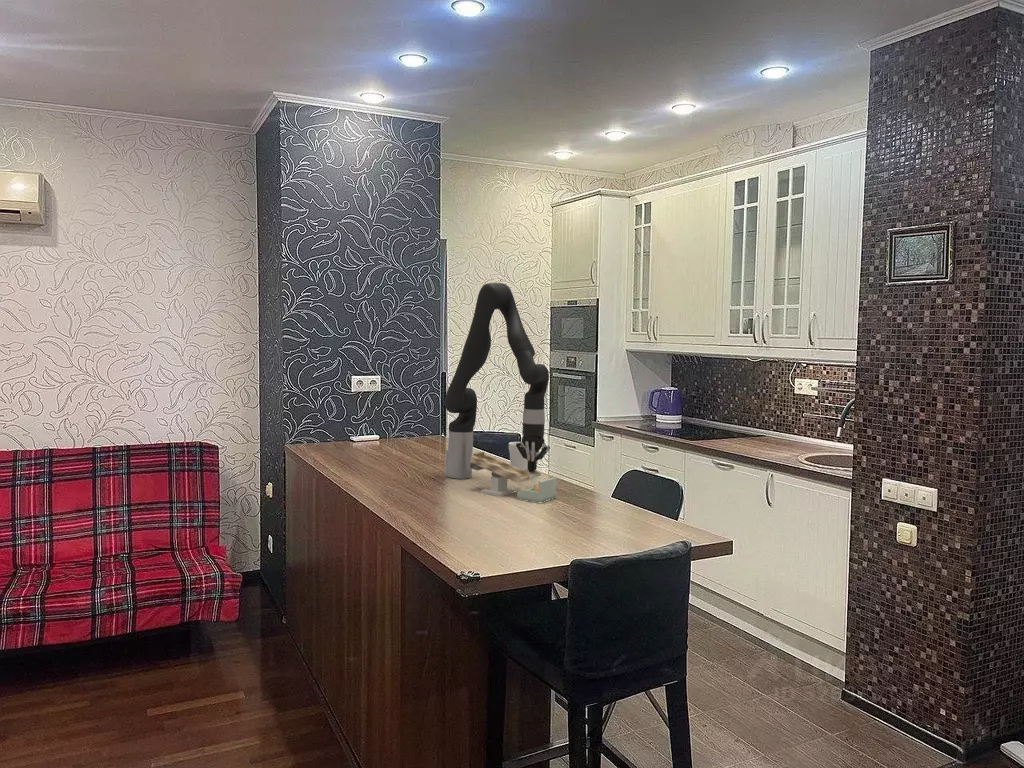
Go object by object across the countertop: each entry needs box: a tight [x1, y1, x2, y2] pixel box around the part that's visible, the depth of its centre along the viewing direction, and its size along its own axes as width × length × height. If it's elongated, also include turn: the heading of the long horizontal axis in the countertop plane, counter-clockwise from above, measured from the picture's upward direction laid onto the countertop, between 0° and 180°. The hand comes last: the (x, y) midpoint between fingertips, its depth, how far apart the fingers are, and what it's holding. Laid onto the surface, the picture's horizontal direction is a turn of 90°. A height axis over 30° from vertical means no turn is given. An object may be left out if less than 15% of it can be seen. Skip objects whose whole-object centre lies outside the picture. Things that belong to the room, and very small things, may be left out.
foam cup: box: [508, 441, 528, 470], centre depth 296 cm, size 10×9×13 cm
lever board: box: [470, 451, 542, 484], centre depth 273 cm, size 20×15×5 cm
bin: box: [516, 477, 557, 503], centre depth 262 cm, size 9×10×7 cm
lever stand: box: [480, 475, 517, 497], centre depth 270 cm, size 8×10×6 cm
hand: (532, 471), depth 273 cm, fingers closed
